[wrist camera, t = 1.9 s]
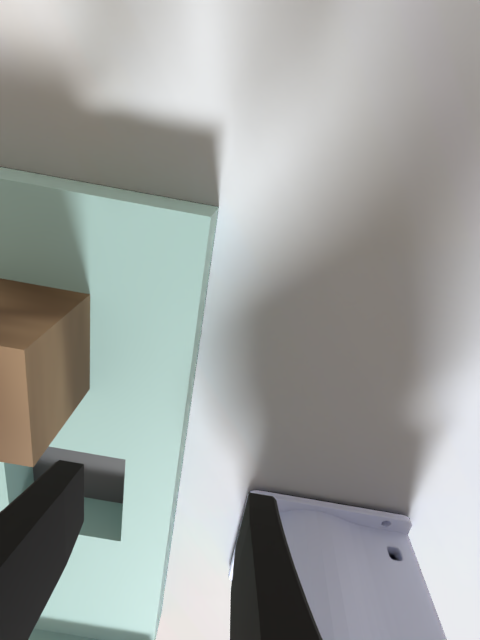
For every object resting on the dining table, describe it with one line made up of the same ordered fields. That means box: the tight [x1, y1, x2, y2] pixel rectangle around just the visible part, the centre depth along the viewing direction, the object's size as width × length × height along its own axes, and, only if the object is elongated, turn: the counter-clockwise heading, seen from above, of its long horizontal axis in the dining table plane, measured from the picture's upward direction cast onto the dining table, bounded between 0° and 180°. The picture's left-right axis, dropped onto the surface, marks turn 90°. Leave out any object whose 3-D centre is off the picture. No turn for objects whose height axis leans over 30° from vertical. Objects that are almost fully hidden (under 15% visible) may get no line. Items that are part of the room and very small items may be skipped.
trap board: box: [0, 167, 219, 640], centre depth 20 cm, size 16×29×4 cm, turn 170°
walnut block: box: [0, 278, 90, 467], centre depth 14 cm, size 4×4×4 cm
